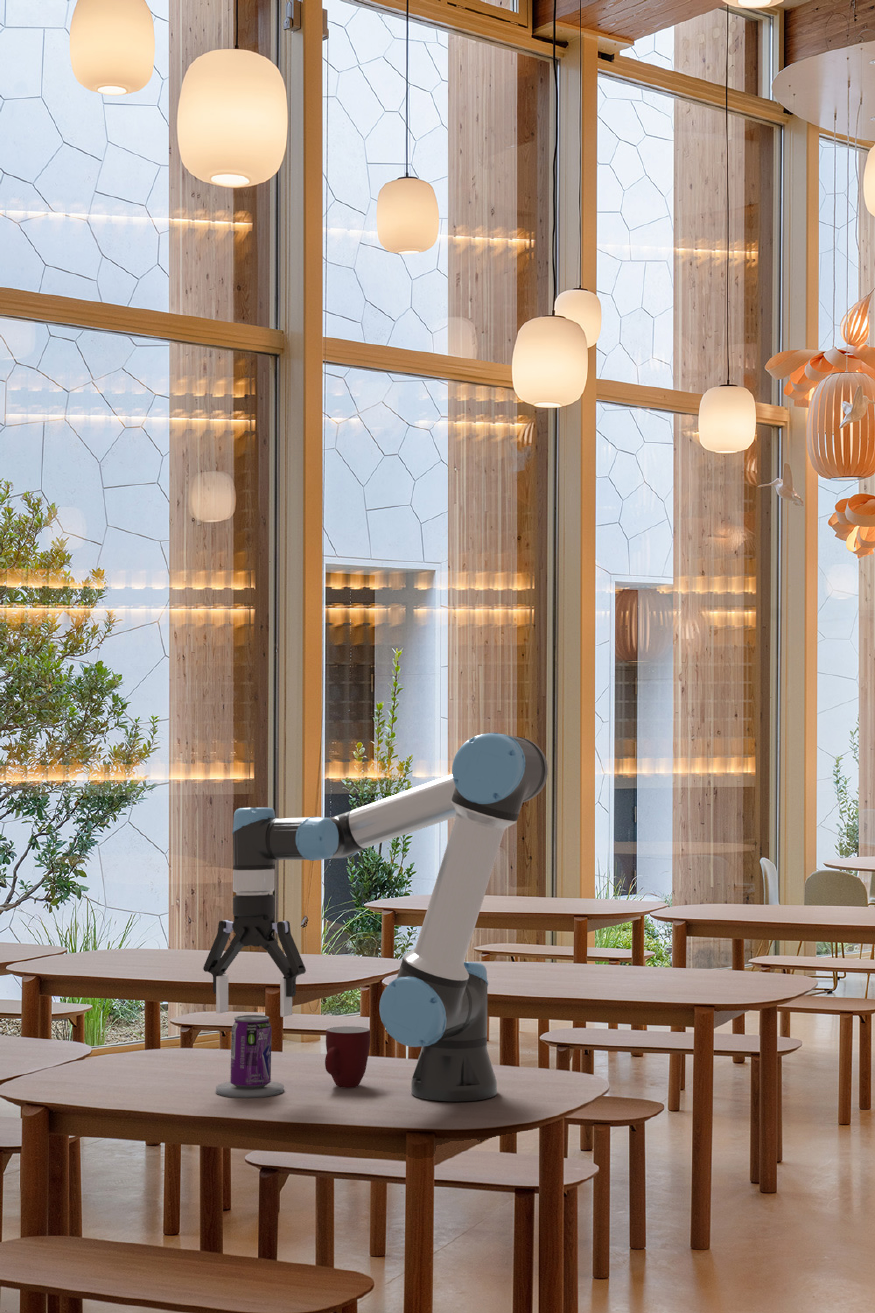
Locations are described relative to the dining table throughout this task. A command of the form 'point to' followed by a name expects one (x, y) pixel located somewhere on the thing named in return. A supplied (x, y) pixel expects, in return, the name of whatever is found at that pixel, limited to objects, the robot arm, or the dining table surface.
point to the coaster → (249, 1090)
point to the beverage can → (251, 1052)
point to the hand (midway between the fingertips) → (253, 1014)
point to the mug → (347, 1054)
